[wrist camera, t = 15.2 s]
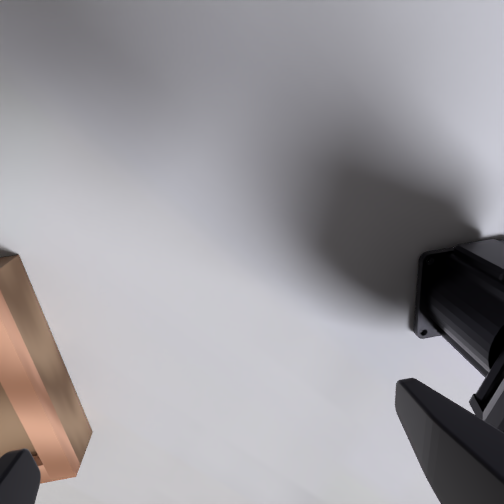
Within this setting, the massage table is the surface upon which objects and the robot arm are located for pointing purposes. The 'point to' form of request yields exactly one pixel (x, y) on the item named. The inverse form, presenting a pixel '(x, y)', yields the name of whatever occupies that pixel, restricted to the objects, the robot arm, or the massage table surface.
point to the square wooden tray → (36, 383)
